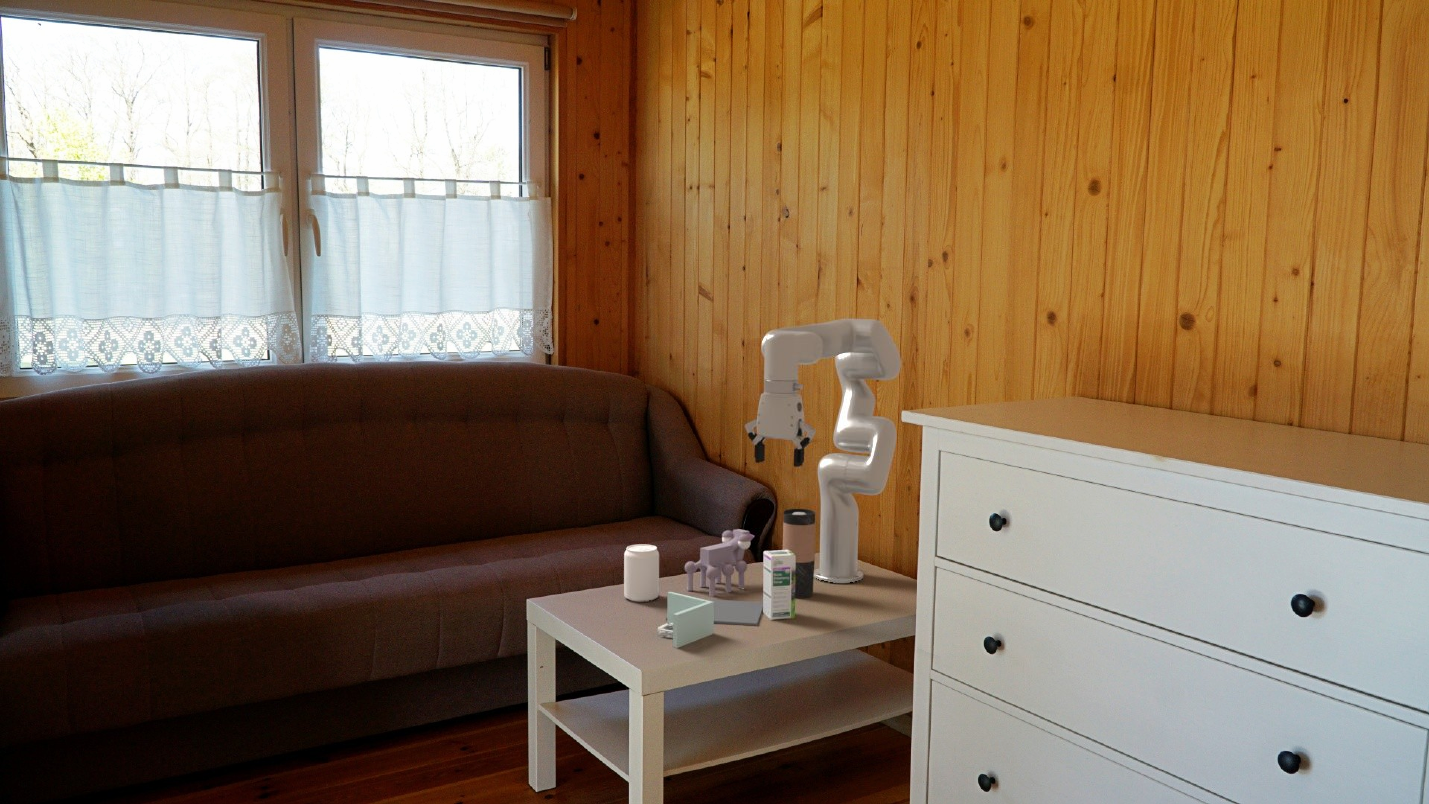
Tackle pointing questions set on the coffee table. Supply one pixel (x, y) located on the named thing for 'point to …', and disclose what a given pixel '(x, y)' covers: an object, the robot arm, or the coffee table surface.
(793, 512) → the travel mug
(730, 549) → the lavender lumpy figurine
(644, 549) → the beverage can
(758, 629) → the coffee table surface
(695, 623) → the right angle wall
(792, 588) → the syrup box
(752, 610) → the mat
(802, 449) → the robot arm
